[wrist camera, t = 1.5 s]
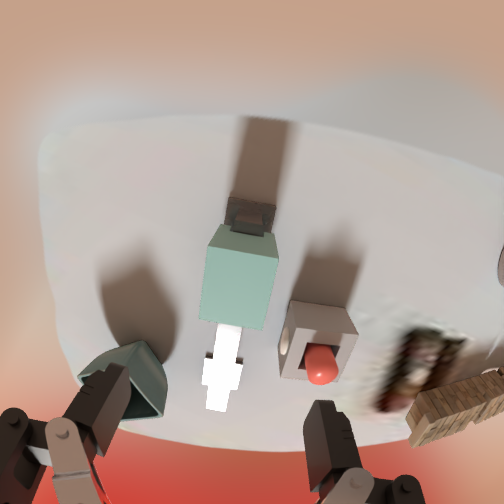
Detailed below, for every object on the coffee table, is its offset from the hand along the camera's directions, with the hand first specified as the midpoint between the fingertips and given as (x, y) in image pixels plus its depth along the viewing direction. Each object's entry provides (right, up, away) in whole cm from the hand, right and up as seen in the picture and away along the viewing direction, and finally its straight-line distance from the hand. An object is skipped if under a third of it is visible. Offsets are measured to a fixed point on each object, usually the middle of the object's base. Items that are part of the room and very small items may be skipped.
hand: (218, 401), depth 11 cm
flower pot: (-15, -9, +26) cm, 32 cm away
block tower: (+44, -22, +29) cm, 57 cm away
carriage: (0, +6, +17) cm, 18 cm away
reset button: (+9, -5, +20) cm, 22 cm away
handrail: (-1, -1, +23) cm, 23 cm away
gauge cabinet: (+9, -3, +24) cm, 26 cm away
